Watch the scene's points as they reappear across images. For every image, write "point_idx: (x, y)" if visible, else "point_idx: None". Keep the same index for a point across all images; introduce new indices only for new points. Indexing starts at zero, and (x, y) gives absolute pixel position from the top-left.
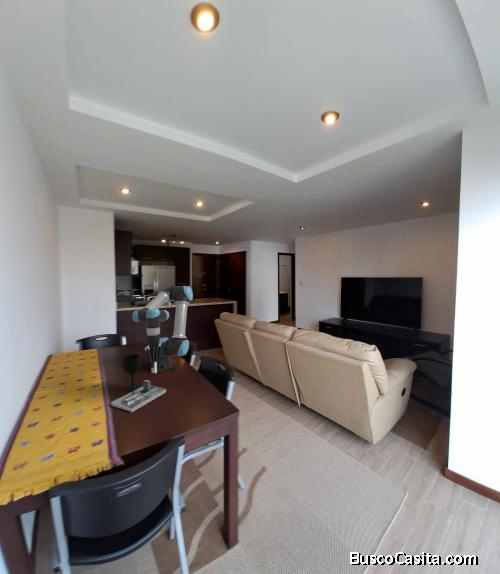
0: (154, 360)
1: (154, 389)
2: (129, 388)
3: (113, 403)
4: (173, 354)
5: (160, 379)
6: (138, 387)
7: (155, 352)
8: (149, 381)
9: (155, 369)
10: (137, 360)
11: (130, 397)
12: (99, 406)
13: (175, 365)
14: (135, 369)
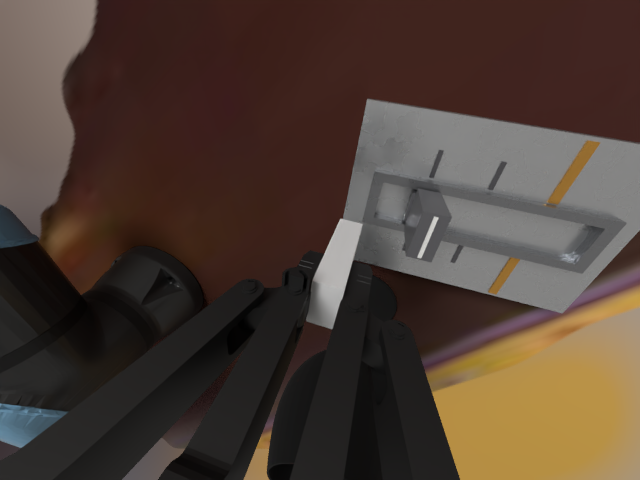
0: (338, 315)
1: (394, 173)
2: (376, 309)
3: (571, 298)
4: (51, 269)
5: (244, 231)
6: None
7: (249, 434)
8: (435, 213)
9: (350, 238)
10: None
11: (523, 249)
12: (553, 338)
13: (107, 243)
14: (365, 373)
